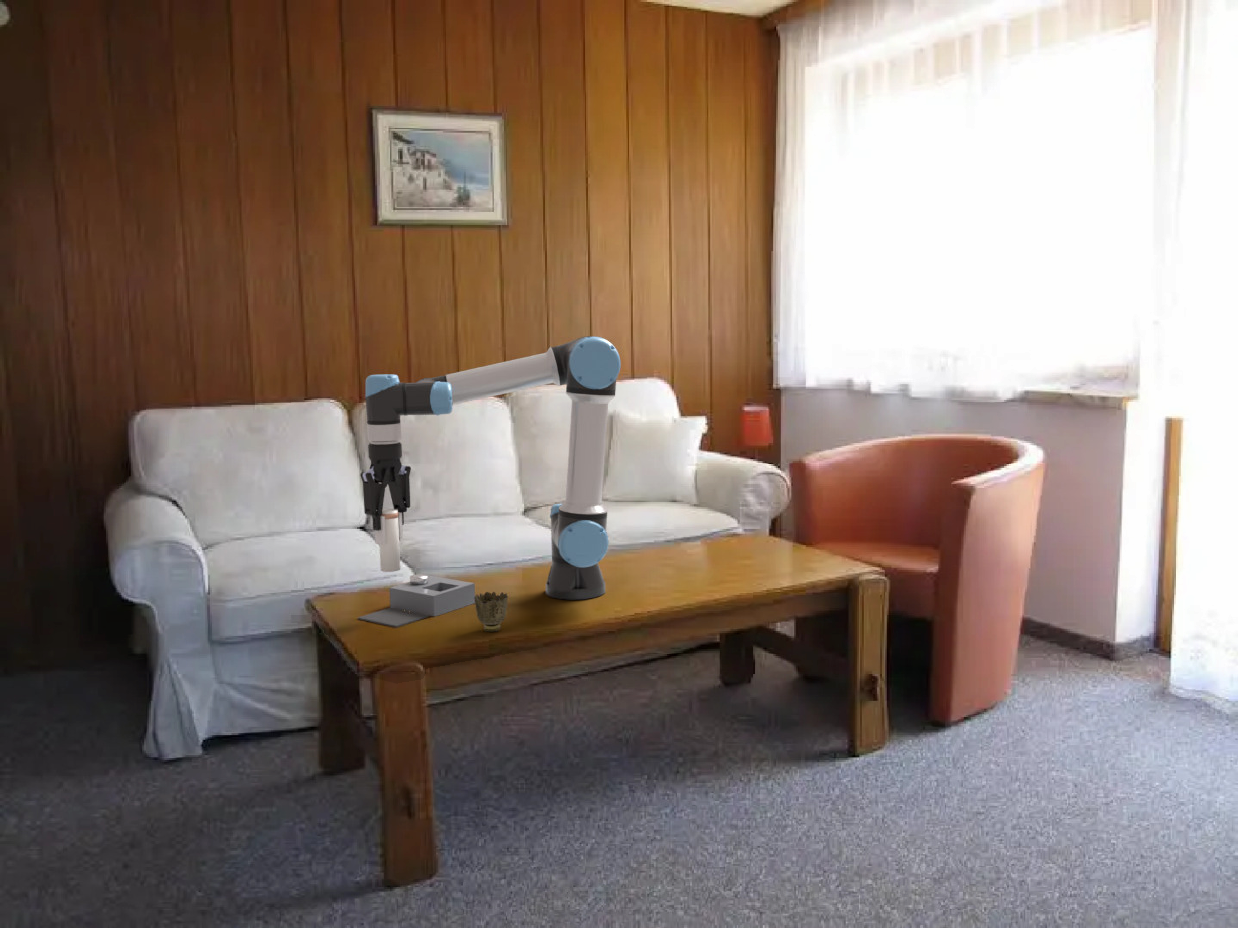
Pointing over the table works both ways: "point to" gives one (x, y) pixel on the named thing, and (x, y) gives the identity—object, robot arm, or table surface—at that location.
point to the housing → (432, 596)
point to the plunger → (419, 579)
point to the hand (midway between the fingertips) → (389, 541)
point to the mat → (393, 617)
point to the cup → (491, 610)
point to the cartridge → (390, 542)
